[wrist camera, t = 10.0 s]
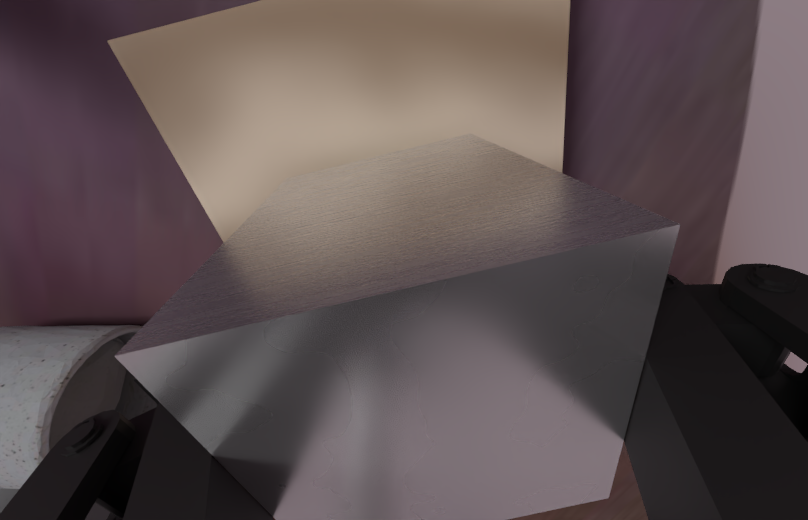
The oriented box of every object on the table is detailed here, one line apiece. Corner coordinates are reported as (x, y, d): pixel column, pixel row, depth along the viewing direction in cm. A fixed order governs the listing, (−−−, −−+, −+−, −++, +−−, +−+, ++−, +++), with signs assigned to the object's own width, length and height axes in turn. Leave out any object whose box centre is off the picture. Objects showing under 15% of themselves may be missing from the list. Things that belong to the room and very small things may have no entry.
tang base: (539, 306, 21) (625, 417, 14) (310, 358, 21) (280, 492, 14) (543, -56, 12) (800, -273, 5) (145, 47, 12) (-165, -9, 5)
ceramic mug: (-14, 298, 17) (-269, 441, 10) (148, 296, 17) (10, 427, 11) (79, 416, 22) (-47, 560, 15) (200, 410, 23) (129, 544, 16)
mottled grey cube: (485, 286, 15) (608, 498, 7) (344, 318, 15) (315, 560, 7) (470, 133, 12) (680, 224, 4) (287, 178, 12) (114, 356, 4)
